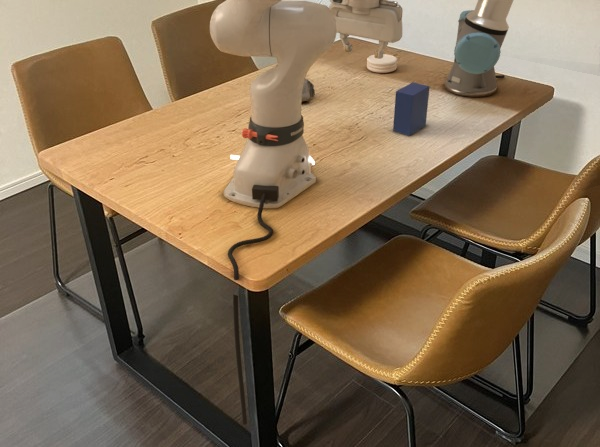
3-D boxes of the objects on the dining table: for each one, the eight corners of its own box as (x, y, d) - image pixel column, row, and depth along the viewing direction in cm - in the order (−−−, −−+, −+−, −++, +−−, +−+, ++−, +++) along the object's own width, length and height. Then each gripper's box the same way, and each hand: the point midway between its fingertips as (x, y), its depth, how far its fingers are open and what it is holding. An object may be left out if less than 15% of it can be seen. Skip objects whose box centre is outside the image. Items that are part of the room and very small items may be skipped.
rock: (319, 98, 184) (319, 74, 180) (294, 107, 178) (293, 83, 175) (285, 87, 193) (284, 64, 190) (261, 95, 187) (259, 72, 184)
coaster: (364, 64, 210) (364, 54, 208) (392, 63, 211) (393, 52, 209) (369, 74, 202) (370, 63, 200) (399, 72, 203) (400, 62, 201)
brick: (425, 125, 167) (429, 86, 161) (409, 136, 161) (413, 95, 155) (409, 121, 169) (412, 82, 164) (392, 131, 164) (395, 91, 158)
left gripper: (409, 0, 145) (405, 59, 152) (339, -10, 156) (338, 45, 163) (395, 4, 141) (391, 65, 148) (324, -6, 152) (323, 50, 159)
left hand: (362, 54), depth 156 cm, fingers open, 8 cm apart
